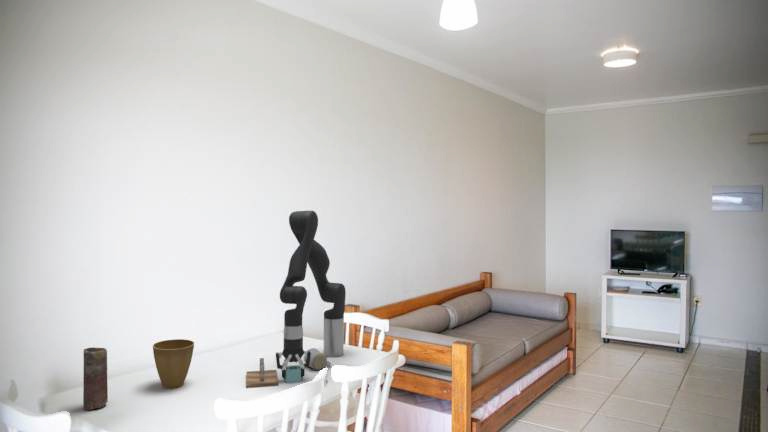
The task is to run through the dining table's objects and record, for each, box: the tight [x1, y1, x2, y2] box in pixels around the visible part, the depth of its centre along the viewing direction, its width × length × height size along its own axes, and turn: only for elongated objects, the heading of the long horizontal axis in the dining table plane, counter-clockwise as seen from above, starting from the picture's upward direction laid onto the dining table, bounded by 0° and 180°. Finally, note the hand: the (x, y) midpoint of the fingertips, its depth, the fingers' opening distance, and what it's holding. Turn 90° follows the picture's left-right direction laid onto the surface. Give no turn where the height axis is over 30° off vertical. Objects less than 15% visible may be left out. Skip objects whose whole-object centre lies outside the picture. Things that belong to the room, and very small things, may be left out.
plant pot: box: [152, 338, 195, 389], centre depth 207 cm, size 15×15×16 cm
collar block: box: [285, 364, 302, 384], centre depth 214 cm, size 6×6×5 cm
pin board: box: [245, 357, 279, 389], centre depth 214 cm, size 16×12×7 cm
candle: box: [82, 347, 109, 411], centre depth 185 cm, size 8×7×20 cm
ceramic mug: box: [303, 348, 332, 371], centre depth 231 cm, size 11×8×8 cm
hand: (293, 377), depth 214 cm, fingers open, 6 cm apart
